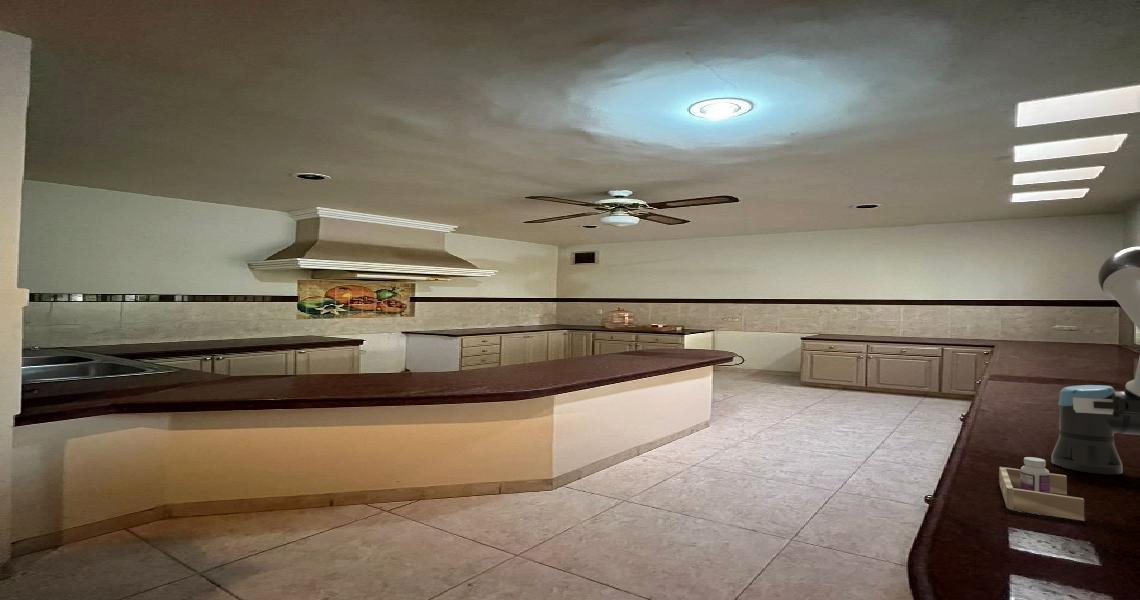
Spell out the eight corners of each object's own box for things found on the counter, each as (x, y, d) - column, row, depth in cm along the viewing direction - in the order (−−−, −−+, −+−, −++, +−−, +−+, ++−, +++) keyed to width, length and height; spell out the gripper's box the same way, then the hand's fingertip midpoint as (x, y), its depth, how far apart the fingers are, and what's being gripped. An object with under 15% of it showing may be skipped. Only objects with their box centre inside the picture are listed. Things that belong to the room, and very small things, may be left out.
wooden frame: (999, 483, 146) (999, 466, 146) (1065, 493, 139) (1065, 475, 139) (1006, 508, 128) (1006, 488, 128) (1084, 520, 120) (1084, 499, 121)
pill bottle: (1045, 498, 135) (1045, 457, 135) (1053, 505, 130) (1053, 463, 130) (1017, 495, 137) (1017, 455, 137) (1024, 501, 132) (1024, 460, 132)
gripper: (1222, 429, 109) (1073, 420, 123) (1204, 431, 127) (1076, 423, 141) (1217, 389, 110) (1071, 385, 124) (1200, 397, 128) (1074, 392, 142)
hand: (1073, 405), depth 132 cm, fingers open, 13 cm apart
